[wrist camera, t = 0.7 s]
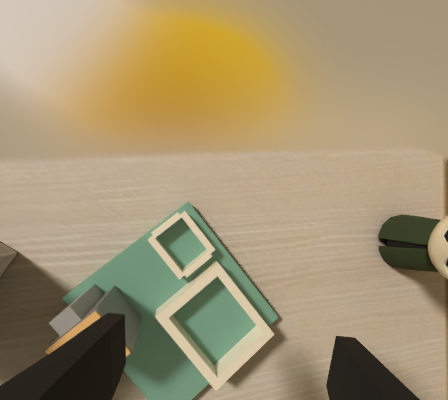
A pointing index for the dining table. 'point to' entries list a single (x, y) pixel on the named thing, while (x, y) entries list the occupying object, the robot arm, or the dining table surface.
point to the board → (185, 308)
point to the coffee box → (6, 257)
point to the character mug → (416, 243)
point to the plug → (94, 316)
